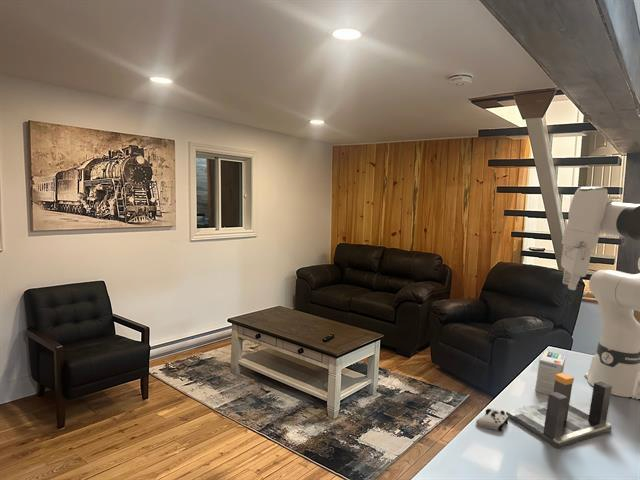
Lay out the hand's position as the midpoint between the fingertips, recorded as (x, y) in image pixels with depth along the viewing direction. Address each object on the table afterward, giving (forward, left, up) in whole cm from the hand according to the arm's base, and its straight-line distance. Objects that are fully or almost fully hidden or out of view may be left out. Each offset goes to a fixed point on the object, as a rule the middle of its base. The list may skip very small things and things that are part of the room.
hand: (568, 286), depth 128 cm
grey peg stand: (+11, +10, -36) cm, 39 cm away
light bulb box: (-7, -6, -36) cm, 38 cm away
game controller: (+28, +3, -37) cm, 46 cm away
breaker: (+11, +10, -34) cm, 37 cm away
